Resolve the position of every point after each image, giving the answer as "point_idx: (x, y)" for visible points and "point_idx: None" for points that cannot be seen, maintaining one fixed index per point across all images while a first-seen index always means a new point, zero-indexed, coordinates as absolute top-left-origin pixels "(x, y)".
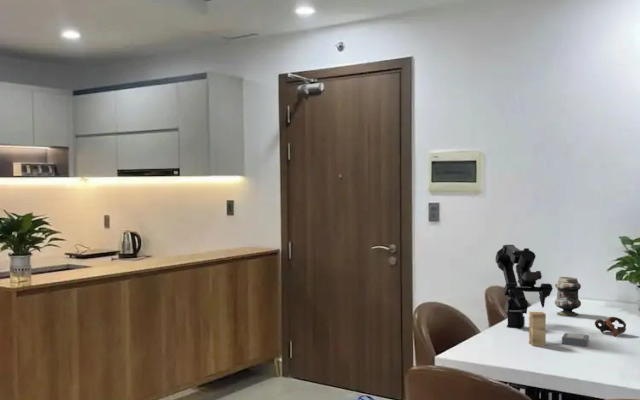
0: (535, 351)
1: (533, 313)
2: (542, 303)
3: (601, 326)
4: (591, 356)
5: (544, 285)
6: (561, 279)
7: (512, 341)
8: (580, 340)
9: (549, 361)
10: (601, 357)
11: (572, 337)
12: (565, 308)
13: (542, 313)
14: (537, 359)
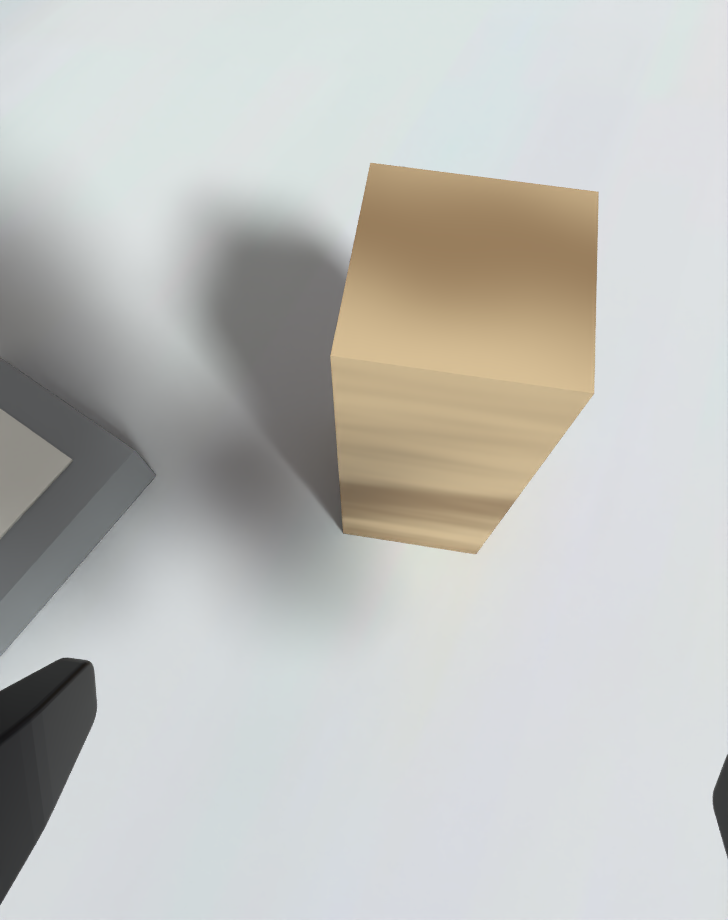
0: None
1: (570, 216)
2: (38, 726)
3: None
4: (179, 112)
5: None
6: None
7: (635, 644)
8: (4, 361)
9: (530, 53)
10: (127, 87)
11: (26, 428)
12: None
13: (408, 197)
14: (594, 94)
